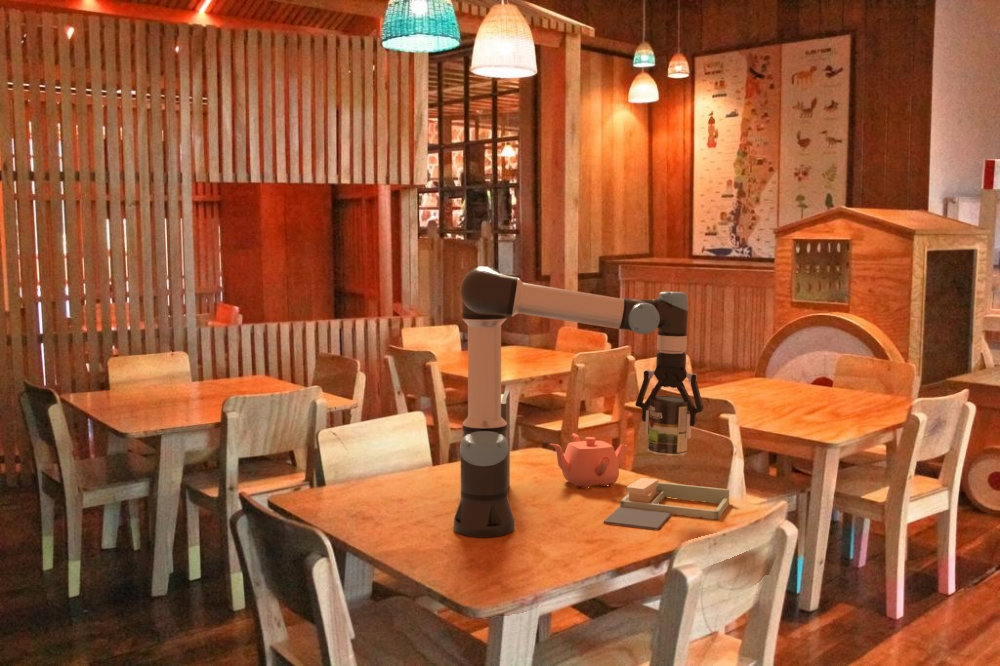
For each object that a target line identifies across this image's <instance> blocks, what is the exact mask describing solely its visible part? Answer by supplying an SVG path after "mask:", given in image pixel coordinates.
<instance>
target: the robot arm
mask: <svg viewBox="0 0 1000 666" xmlns="http://www.w3.org/2000/svg"><path fill="white" fill-rule="evenodd" d="M465 274H466V275H464V277H463V279H462V282H461V285H460V290H459V291H460V292H459V293H460V298H461V320H462V321H463V322H464V323H465V324H466V325H467V405H468V406H467V407H468V408H467V409H468V410H467V415H468V416H467V417H466V418H465V419H464V421H463V422H462V438H461V440H460V446H459V454H460V500H459V503H458V506H457V510H456V511H455V515H454V519H453V530H454V531H455V533H457V534H459V535H463V536H466V537H472V538H494V537H501V536H505V535H508V534H510V533H512V532H514V530H515V517H514V514H513V510H512V507H511V505H510V502H509V498H508V489H507V454H508V445H507V422H506V421H505V420H504V419H503V418H502V417H501V394H502V324H504V323H505V321H506V320H507V319H508V317H514V316H516V315H517V314H520V315H521V314H522V315H527V316H534V317H540V318H548V319H551V320H554V319H555V320H559V321H566V322H572V323H579V324H584V325H591V326H596V327H597V326H598V327H604V328H611V329H617V330H622V331H627V332H634V333H636V334H639V335H647V334H651V333H652V332H654V331H655V330H656V329H657V339H656V340H657V341H656V349H657V352H656V361H655V364H656V365H655V366H656V367H655V369H654V370H650V369H646V370H644V371H643V380H642V383H641V386H640V390H639V391H638V395H637V398H636V402H635V407H638V408H640V409H641V411H642V412H641V420H642V422H645V427H644V428H645V433H644V435H645V436H649V418H650V398H655V397H656V396H658V395H657V394H658V393H659V392H660V390H661V389H662V388H669V387H670V388H672V389H674V388H675V389H676V390H677V391H678V392H679V393H680V394H679V395H680V397H682V398H683V400H684V402H688V405H687V408H688V410H689V413H688V414H687V425H686V439H687V440H690V439H691V437H692V427H695V426H696V423H697V422H696V420H697V419H696V418H697V413H701V412H703V411H704V404H703V401H702V400H703V399H702V397H701V393H700V389H699V384H698V379H699V378H698V377H699V375H698V373H696V372H694V373H689V372H687V368H686V367H687V366H686V364H687V353H686V351H687V345H688V343H687V341H688V321H689V320H688V319H689V311H690V310H689V295H688V294H687V293H686V292H683V291H660V292H659V296H658V298H653V299H647V298H628V297H624V298H619V297H615V296H614V297H613V296H608V295H602V294H595V293H590V292H589V293H588V292H583V291H578V290H577V291H576V290H569V289H565V288H559V287H551V286H544V285H540V284H533V283H527V282H523V281H522V280H521V278H519V277H516V276H511V275H507V274H504V273H501V272H500V270H498V269H497V268H494V267H492V266H487V265H481V266H477V267H474V268H472V269H470V270H469V271H468V272H467V273H465ZM653 376H654V377H655V378H656V380H657V383H656V384H655V386H654V387H653V389H652V390H651V392H650V394H649V395H648V397H647V398H646V400H644V399H645V397H646V393H647V390H648V387H649V384H650V381H651V379H652V378H653ZM686 378H687V380H688V382H690V387H691V391H692V395H693V399H694V402H693V400H692V398H691V397H690V395H689V392H688V391H687V389H686V386H685V384H684V381H685V379H686ZM694 403H695V404H694Z"/></svg>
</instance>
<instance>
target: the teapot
mask: <svg viewBox="0 0 1000 666" xmlns="http://www.w3.org/2000/svg"><path fill="white" fill-rule="evenodd" d="M571 436H572V437H573V441H572V442H568V443H567V446H566V449H565V452H564V451H563V448H562V447H561V446H560V444H558V443H557V444H556V443H549V445H550V446H552V447H553V448H554V450H555V452H556V458H557V464H558V466H559V468H560V470H561V471H562V475H563V477H564V479H565V480H566V481H568V482H569V483H570V484H572V485H575V486H579V488H580V487H581V488H580V489H582V488H587V489H589V488H590V486H600V485H602V486H607V485H609V486H610V484H614V483H616V482H617V481H618V479H619V477H620V476H619V475H620V470H619V469H620V468H619V467H620V465H621V462H622V460H623V457H624V456H625V453H626V450H627V449H628V445H626V444H619V446H618V447H617V448H616V450H615V448H614V446H613V445H612V444H611V443H609V442H606V441H603V440H597V438H596V437H595V436H587V437H585V438H584V440H582V441H581V439H580V436H579V435H578V434H577V433H574V432H573V433H572V434H571ZM602 486H601V487H602ZM588 487H589V488H588Z"/></svg>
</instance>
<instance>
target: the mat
mask: <svg viewBox="0 0 1000 666" xmlns="http://www.w3.org/2000/svg"><path fill="white" fill-rule="evenodd" d="M670 515H671V516H672V514H671V513H667V512H659V511H650V510H641V509H633V508H624V507H620V506H618V507H617V508H616V509H615V510H614V511H613V512H612V513H611V514H610V515H608V517H606V518H605V519H604V520H603V524H606V525H613V526H614V525H615V526H621V527H629V528H638V529H645V530H654V531H659V530H660V528H661V527H662V526H663V525H664V524H665V523H666V522H667V520H668V519H669V518H671V517H670Z"/></svg>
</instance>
